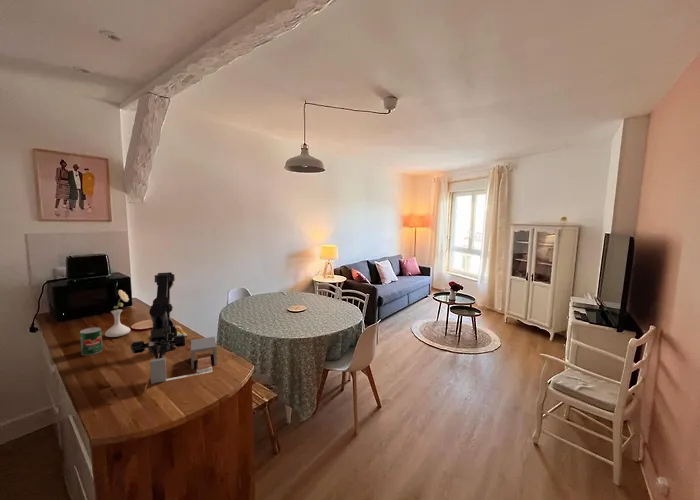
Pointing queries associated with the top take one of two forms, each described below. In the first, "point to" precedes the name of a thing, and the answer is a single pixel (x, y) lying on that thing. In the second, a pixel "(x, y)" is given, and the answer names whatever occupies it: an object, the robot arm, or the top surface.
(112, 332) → the flower in vase
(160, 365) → the grey white bent piece
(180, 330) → the puzzle game
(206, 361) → the block
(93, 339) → the canned tomato
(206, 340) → the tunnel
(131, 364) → the top surface
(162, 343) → the robot arm
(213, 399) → the top surface
